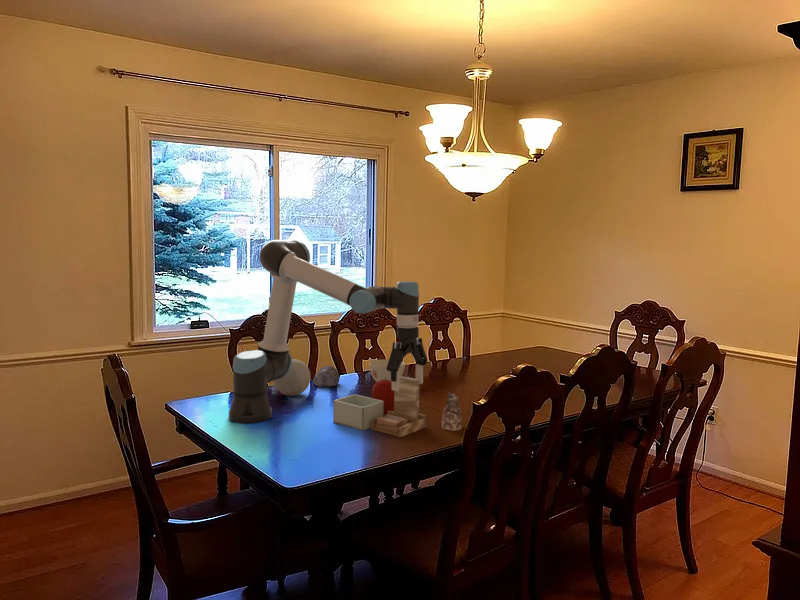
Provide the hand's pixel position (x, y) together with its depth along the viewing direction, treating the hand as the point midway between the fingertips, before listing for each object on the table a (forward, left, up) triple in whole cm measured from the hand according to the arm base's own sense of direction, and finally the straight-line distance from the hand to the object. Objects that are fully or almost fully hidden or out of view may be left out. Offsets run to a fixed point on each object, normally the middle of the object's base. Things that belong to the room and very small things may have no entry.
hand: (407, 386), depth 216 cm
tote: (-9, +15, -14) cm, 22 cm away
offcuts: (-7, 0, -13) cm, 15 cm away
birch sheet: (0, 0, -13) cm, 13 cm away
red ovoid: (+6, +15, -14) cm, 21 cm away
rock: (+22, +62, -14) cm, 67 cm away
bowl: (+39, +42, -14) cm, 59 cm away
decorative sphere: (+1, +60, -14) cm, 62 cm away
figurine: (+8, -13, -14) cm, 21 cm away
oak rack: (-5, 0, -14) cm, 14 cm away
